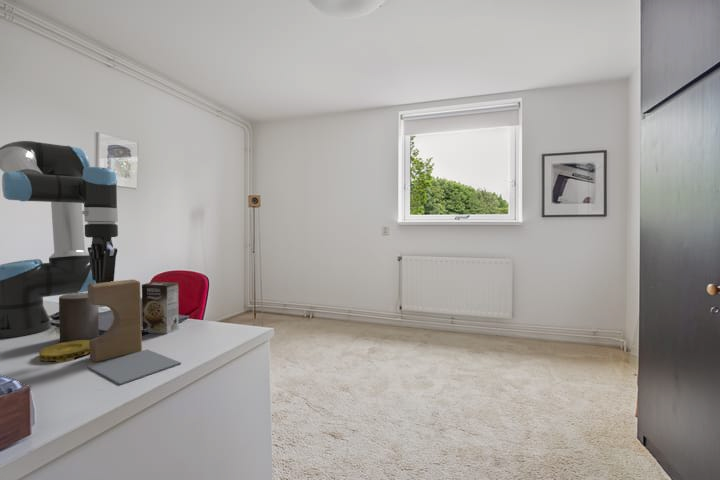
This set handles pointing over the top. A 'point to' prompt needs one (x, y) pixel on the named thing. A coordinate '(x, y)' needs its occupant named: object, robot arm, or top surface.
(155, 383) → the top surface
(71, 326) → the pillar candle
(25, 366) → the top surface
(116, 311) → the decorative block
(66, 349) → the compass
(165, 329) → the coffee box
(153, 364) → the mat
